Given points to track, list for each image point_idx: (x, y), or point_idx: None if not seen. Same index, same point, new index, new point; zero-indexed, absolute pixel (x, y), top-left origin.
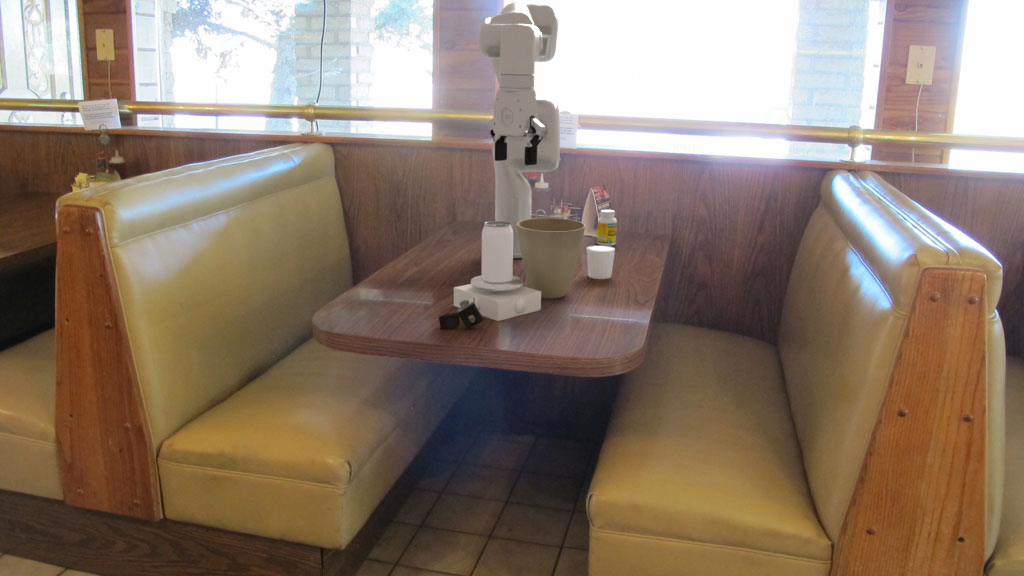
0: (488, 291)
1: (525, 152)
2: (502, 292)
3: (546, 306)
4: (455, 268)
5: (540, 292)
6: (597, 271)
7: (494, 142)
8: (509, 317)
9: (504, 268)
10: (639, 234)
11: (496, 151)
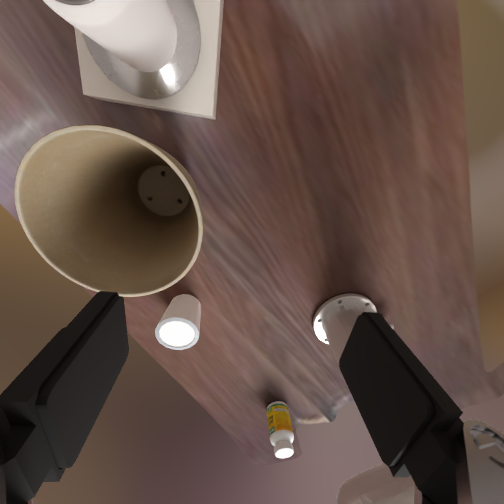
0: None
1: (59, 350)
2: None
3: (113, 127)
4: (368, 209)
5: (83, 92)
6: (175, 300)
7: (473, 420)
8: None
9: None
10: (273, 447)
11: (397, 352)
